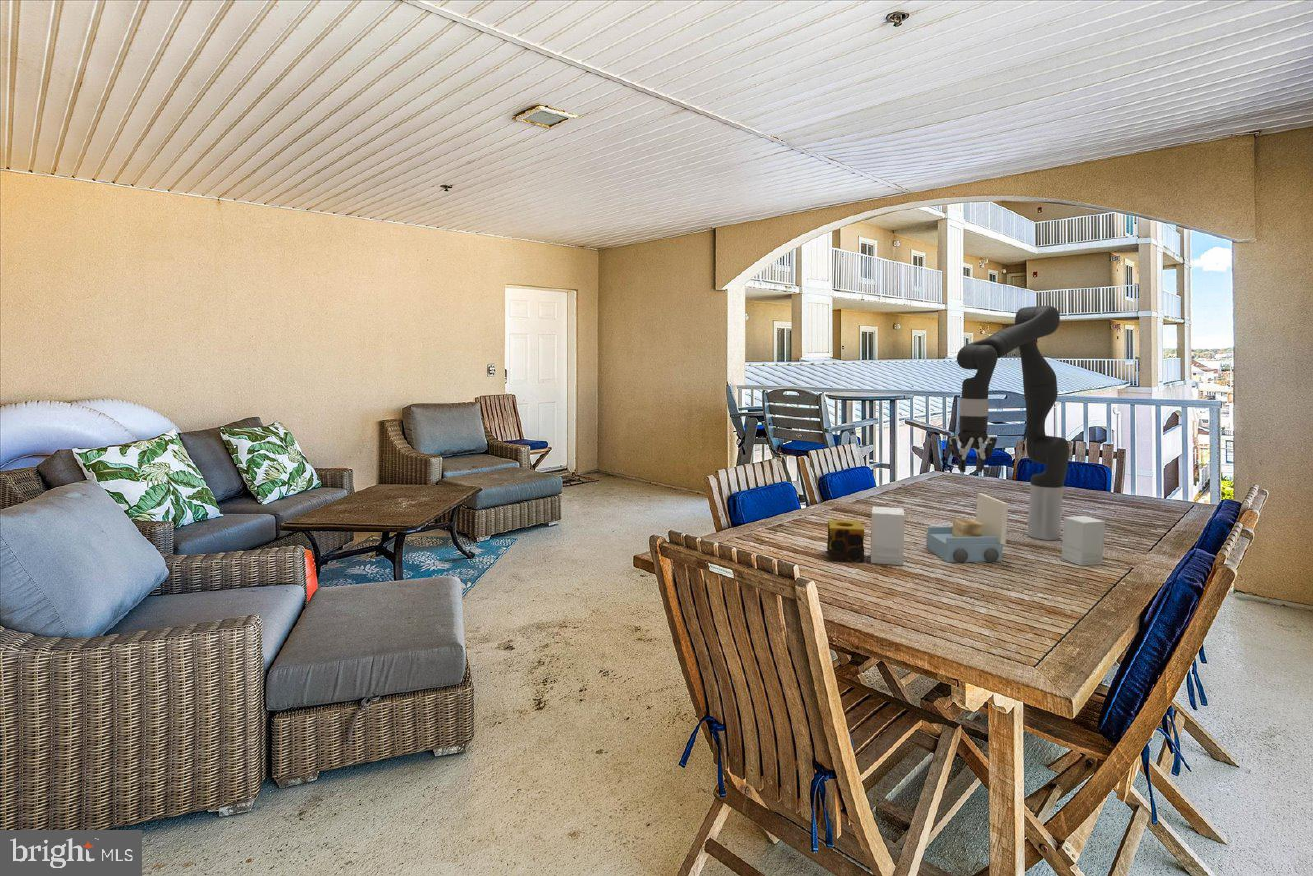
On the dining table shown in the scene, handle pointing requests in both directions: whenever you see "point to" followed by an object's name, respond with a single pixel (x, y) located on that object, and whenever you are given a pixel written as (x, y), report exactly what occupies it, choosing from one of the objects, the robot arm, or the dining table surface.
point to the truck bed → (962, 546)
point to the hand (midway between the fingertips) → (970, 471)
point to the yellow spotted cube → (845, 541)
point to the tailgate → (992, 517)
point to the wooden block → (967, 528)
